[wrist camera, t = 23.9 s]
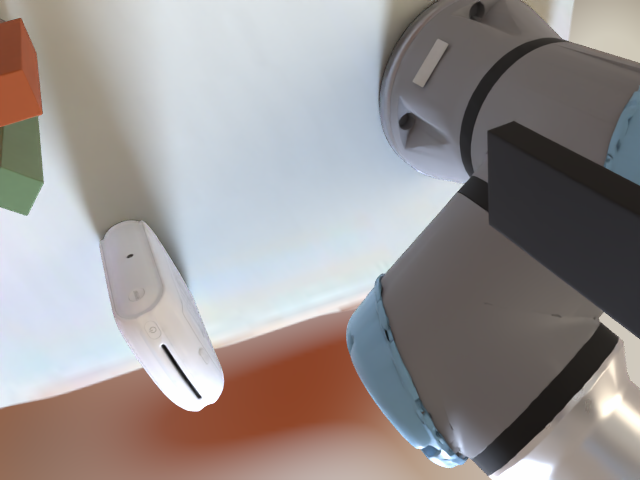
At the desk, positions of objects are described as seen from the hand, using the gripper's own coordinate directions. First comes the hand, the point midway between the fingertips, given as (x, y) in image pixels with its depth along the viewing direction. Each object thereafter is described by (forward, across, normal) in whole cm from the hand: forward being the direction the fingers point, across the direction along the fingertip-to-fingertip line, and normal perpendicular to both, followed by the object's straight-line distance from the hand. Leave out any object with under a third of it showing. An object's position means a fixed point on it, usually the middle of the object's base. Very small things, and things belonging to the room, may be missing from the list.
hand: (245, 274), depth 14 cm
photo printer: (+31, +3, +19) cm, 36 cm away
